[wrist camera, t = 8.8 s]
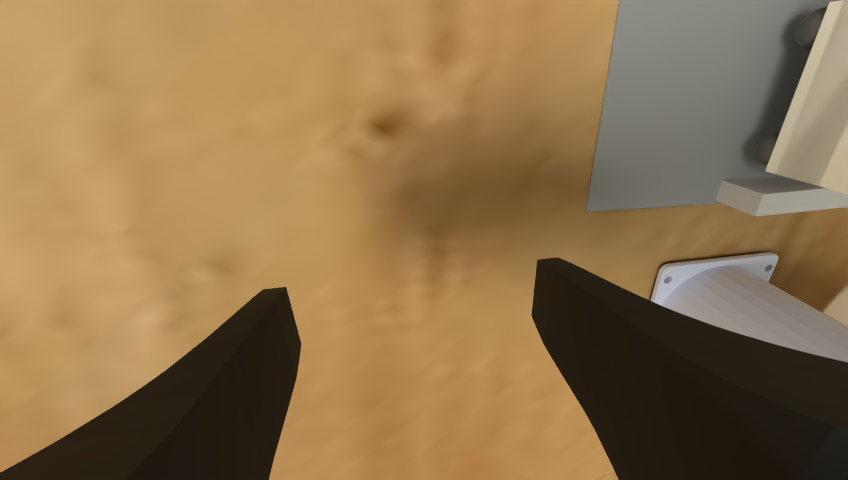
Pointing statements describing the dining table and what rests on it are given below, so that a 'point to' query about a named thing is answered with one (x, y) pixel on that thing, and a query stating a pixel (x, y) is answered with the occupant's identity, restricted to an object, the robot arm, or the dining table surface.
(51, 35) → the dining table surface
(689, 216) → the dining table surface
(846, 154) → the cream notched block
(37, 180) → the dining table surface
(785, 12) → the dock
